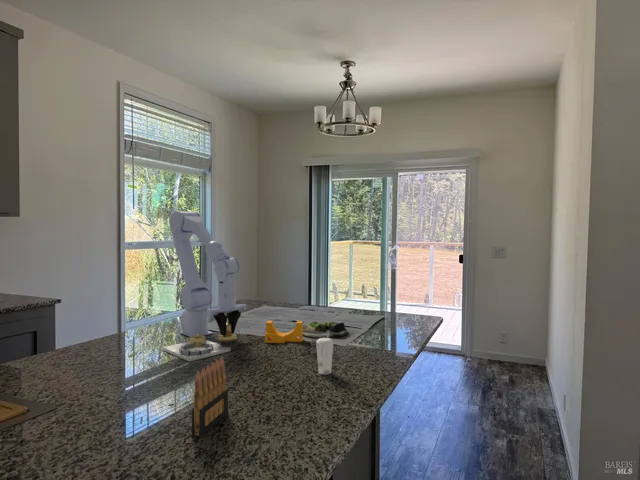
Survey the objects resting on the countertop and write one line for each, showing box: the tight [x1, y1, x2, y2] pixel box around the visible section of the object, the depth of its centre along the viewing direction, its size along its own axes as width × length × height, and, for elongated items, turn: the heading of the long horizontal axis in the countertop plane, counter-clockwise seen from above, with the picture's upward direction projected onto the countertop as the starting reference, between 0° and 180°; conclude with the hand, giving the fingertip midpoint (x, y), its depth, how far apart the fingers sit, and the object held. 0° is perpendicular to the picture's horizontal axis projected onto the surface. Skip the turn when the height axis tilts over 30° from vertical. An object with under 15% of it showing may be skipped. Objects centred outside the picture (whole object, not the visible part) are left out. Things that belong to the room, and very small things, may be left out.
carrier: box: [162, 334, 232, 363], centre depth 133 cm, size 16×14×4 cm
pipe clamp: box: [264, 320, 304, 344], centre depth 144 cm, size 12×4×6 cm, turn 87°
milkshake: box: [315, 332, 335, 376], centre depth 113 cm, size 5×5×10 cm
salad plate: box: [303, 321, 348, 339], centre depth 155 cm, size 19×18×5 cm
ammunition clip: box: [191, 356, 229, 438], centre depth 84 cm, size 11×2×12 cm, turn 164°
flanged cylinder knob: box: [217, 322, 237, 343], centre depth 146 cm, size 6×6×6 cm
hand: (227, 334), depth 146 cm, fingers closed on flanged cylinder knob, 3 cm apart
